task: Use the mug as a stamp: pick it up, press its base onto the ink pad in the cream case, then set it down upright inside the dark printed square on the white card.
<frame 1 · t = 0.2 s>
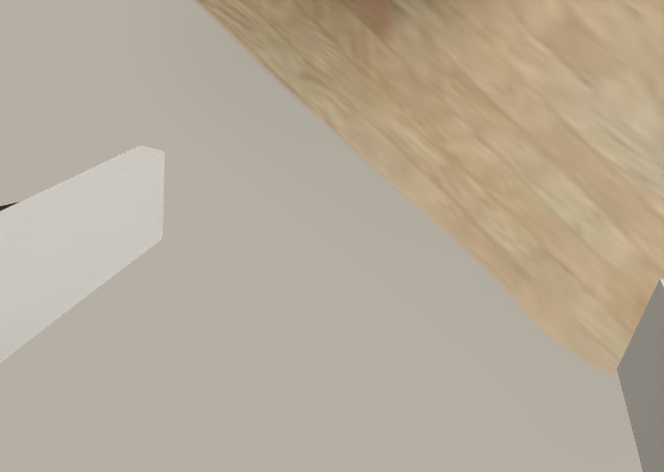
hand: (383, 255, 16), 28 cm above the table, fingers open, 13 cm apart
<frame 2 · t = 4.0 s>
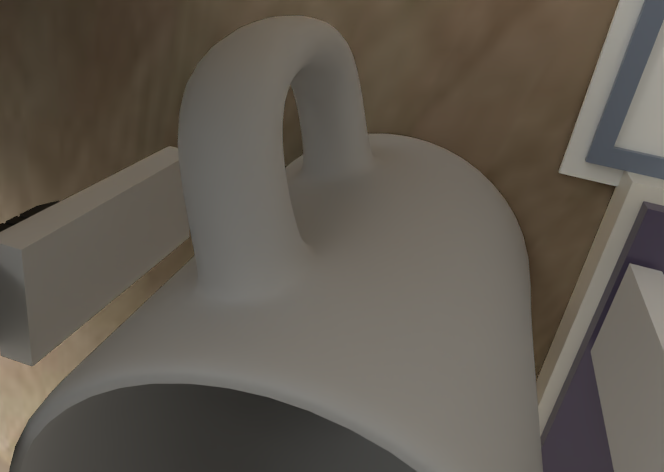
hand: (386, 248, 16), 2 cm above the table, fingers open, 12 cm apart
mug: (378, 210, 18), on the table
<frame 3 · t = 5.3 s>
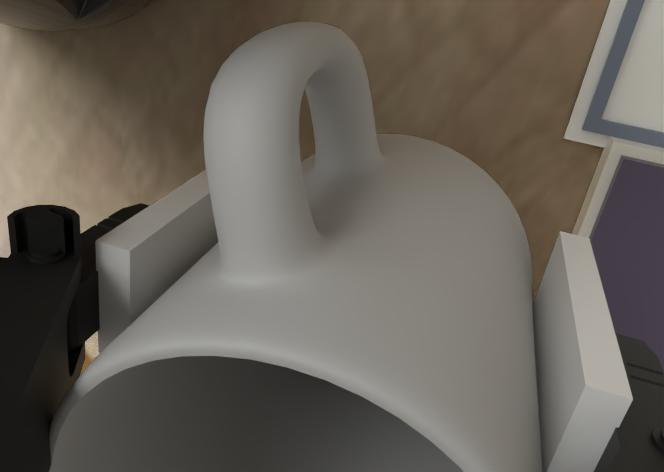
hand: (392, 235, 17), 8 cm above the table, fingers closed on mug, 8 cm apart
mug: (386, 207, 18), point 7 cm above the table, touching gripper
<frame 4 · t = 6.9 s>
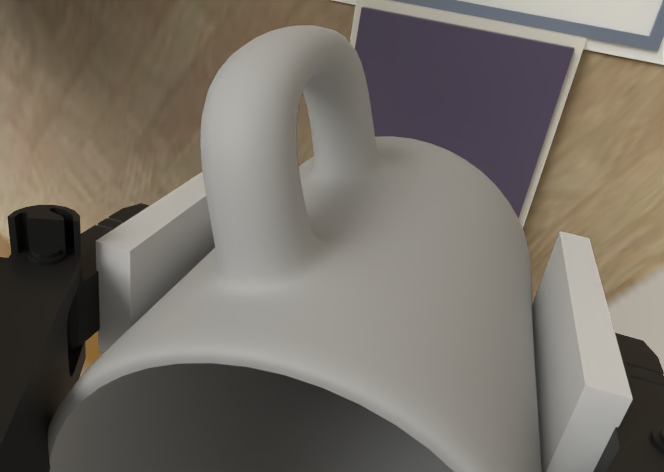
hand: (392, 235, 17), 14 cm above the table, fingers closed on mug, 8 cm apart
ink pad: (443, 122, 29), on the table
mug: (385, 210, 18), point 12 cm above the table, touching gripper
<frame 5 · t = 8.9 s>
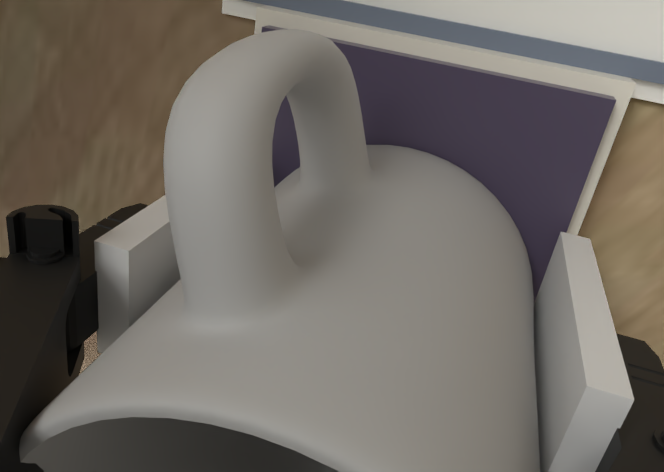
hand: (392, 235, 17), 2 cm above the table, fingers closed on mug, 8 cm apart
ink pad: (403, 201, 19), on the table
mug: (379, 222, 17), point 2 cm above the table, touching gripper, ink pad
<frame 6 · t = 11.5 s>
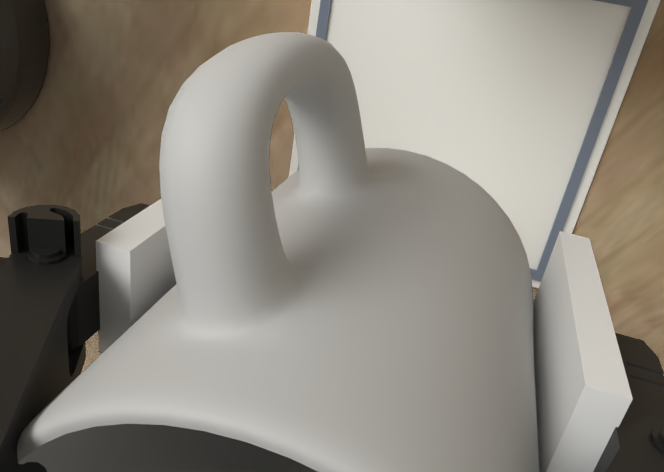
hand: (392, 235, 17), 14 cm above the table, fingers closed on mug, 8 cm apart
print card: (443, 121, 29), on the table
mug: (378, 225, 17), point 14 cm above the table, touching gripper
when the fingers open (2 cm above the table, at t = 14.0 s): mug drops 2 cm, resting on print card.
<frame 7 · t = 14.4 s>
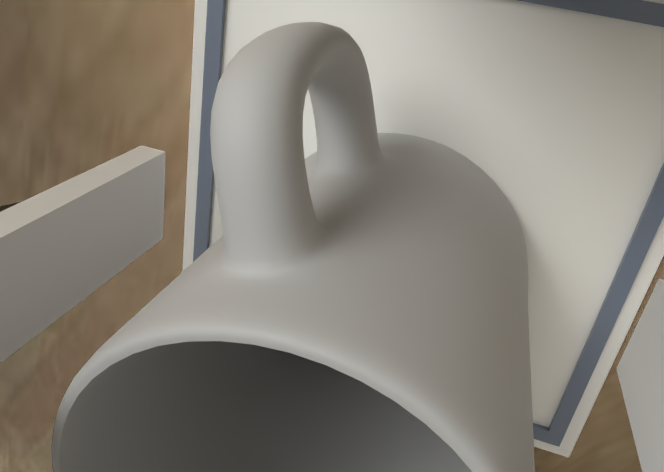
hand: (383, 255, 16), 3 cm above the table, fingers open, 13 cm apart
print card: (405, 208, 19), on the table
mug: (386, 206, 19), resting on print card
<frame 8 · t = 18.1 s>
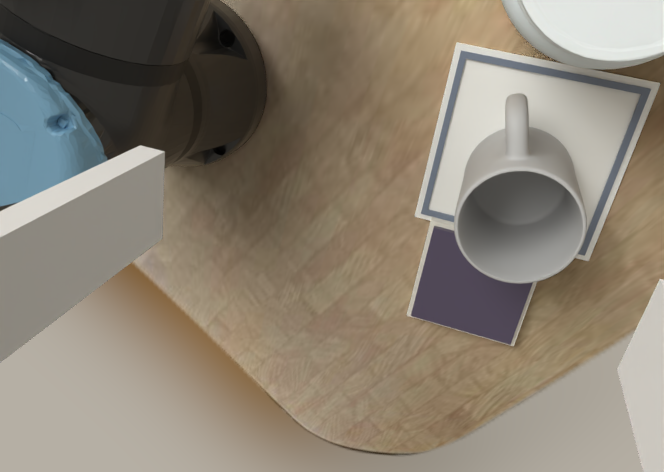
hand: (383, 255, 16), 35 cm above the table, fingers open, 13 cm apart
ink pad: (474, 278, 53), on the table
print card: (525, 156, 48), on the table
mug: (517, 155, 48), resting on print card
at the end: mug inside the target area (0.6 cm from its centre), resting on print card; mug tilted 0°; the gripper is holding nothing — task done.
